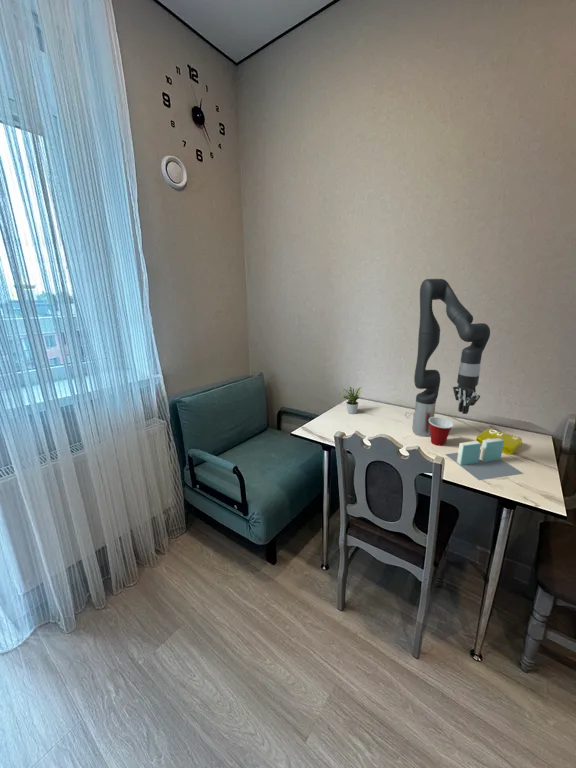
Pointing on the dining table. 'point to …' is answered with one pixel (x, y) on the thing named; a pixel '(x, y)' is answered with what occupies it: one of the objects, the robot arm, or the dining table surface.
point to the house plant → (352, 400)
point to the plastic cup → (439, 430)
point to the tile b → (491, 449)
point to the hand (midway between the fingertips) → (463, 412)
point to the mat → (487, 468)
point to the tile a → (468, 452)
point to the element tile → (509, 440)
